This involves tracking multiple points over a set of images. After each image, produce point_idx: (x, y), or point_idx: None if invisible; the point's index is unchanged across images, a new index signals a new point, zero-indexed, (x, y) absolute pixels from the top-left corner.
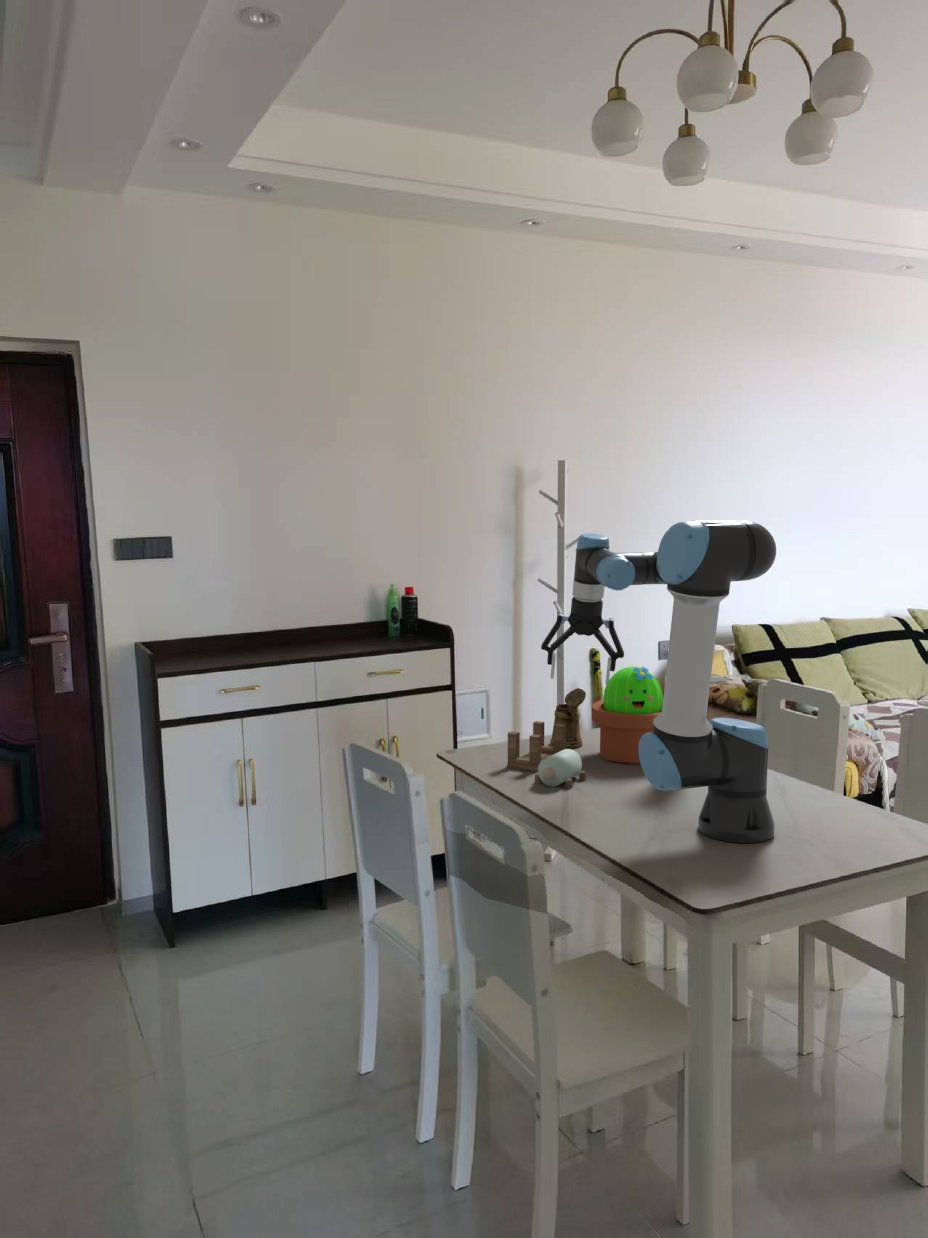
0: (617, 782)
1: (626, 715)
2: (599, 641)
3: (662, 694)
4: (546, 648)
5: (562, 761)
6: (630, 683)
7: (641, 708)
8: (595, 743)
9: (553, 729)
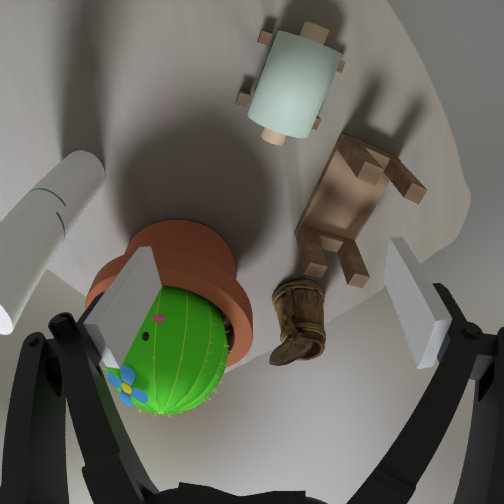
0: (171, 98)
1: None
2: (110, 430)
3: None
4: (489, 343)
5: (287, 48)
6: (147, 358)
7: None
8: (252, 310)
9: (322, 311)
